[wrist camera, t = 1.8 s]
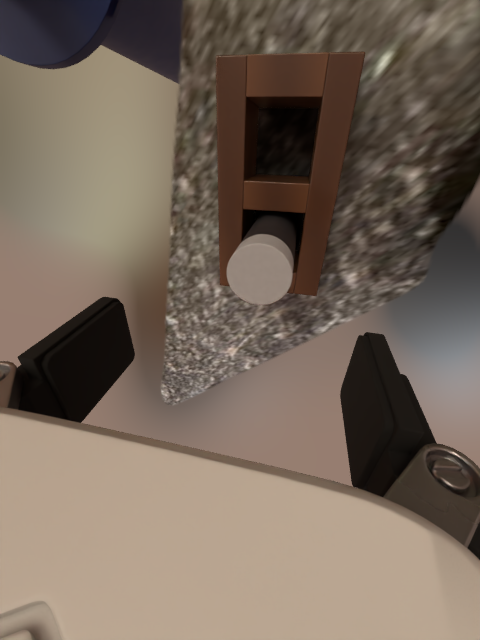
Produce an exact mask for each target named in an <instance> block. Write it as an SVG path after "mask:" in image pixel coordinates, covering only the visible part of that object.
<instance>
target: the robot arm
mask: <svg viewBox="0 0 480 640" xmlns="http://www.w3.org/2000/svg"><path fill="white" fill-rule="evenodd" d="M134 356H135V353H134V348H133V344H132V340H131V336H130V331H129V327H128V323H127V318H126V314H125V310H124V306H123V304H122V303H121V302H120V301H119V300H118V299H116V298H109V297H102V298H100V299H99V300H97V301H96V302H95V303H93V304H92V305H90V306H89V307H88V308H86V309H85V310H83V311H82V312H80V313H79V314H78V315H76V316H75V317H73V318H72V319H71V320H69V321H68V322H66V323H65V324H63V325H62V326H61V327H59V328H58V329H56V330H55V331H54V332H52V333H51V334H49V335H48V336H47V337H45V338H44V339H42V340H41V341H39V342H38V343H37V344H35V345H34V346H32V347H31V348H30V349H28V350H27V351H25V352H24V353H22V354H21V355H20V356H18V359H19V361H20V363H21V365H20V366H19V367H18V368H17V367H16V365H15V364H14V363H12V362H8V361H0V640H480V469H479V467H478V466H477V465H476V464H475V463H474V462H473V461H472V460H470V459H469V458H468V457H467V456H465V455H464V454H462V453H461V452H459V451H457V450H455V449H453V448H451V447H448V446H445V445H443V444H437V443H436V441H435V439H434V437H433V434H432V432H431V430H430V428H429V425H428V423H427V421H426V418H425V416H424V414H423V411H422V409H421V407H420V405H419V402H418V400H417V398H416V396H415V394H414V391H413V389H412V387H411V384H410V382H409V380H408V378H407V377H406V376H405V375H403V374H400V372H399V370H398V368H397V366H396V363H395V360H394V358H393V355H392V353H391V351H390V348H389V346H388V343H387V341H386V339H385V336H384V335H382V334H375V333H368V332H366V333H365V334H364V336H361V335H359V336H358V339H357V341H356V345H355V347H354V351H353V354H352V357H351V360H350V363H349V366H348V369H347V372H346V375H345V378H344V381H343V384H342V388H341V395H340V397H341V405H342V413H343V420H344V427H345V435H346V443H347V450H348V458H349V465H350V473H351V481H352V485H353V487H352V486H348V485H344V484H341V483H338V482H334V481H331V480H326V479H323V478H318V477H315V476H310V475H306V474H302V473H298V472H294V471H290V470H286V469H282V468H278V467H274V466H269V465H265V464H261V463H256V462H252V461H247V460H243V459H239V458H235V457H230V456H226V455H221V454H217V453H213V452H209V451H204V450H200V449H195V448H191V447H186V446H182V445H177V444H173V443H169V442H164V441H160V440H155V439H151V438H146V437H142V436H137V435H133V434H128V433H124V432H119V431H115V430H111V429H106V428H101V427H96V426H92V425H88V424H83V423H81V422H82V421H83V420H84V419H85V417H86V416H87V415H88V414H89V413H90V412H91V410H92V409H93V408H94V407H95V406H96V404H97V403H98V402H99V401H100V400H101V398H102V397H103V396H104V395H105V393H106V392H107V391H108V390H109V389H110V388H111V386H112V385H113V384H114V383H115V382H116V380H117V379H118V378H119V377H120V376H121V374H122V373H123V372H124V371H125V370H126V368H127V367H128V366H129V365H130V364H131V362H132V361H133V359H134ZM355 487H356V488H355Z"/></svg>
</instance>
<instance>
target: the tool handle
mask: <svg viewBox="0 0 480 640" xmlns="http://www.w3.org/2000/svg"><path fill="white" fill-rule="evenodd" d="M297 226H298V221H297V217H296V215H295V213H294V212H279V211H264V210H263V211H262V212H261V214H260V215H259V217H258V218H257V220H256V221H255V223H254V224H253V225H252V227H251V228H250V230H249V231H248V233H247V234H246V236H245V237H244V239H243V240H242V242H241V243H240V245H239V246H238V248H237V249H236V251H235V252H234V254H233V255H232V257H231V258H230V260H229V263H228V266H227V279H228V283H229V285H230V287H231V289H232V290H233V292H234V293H235V294H236V295H237V296H238V297H239V298H241V299H242V300H244V301H246V302H248V303H251V304H255V305H267V304H271V303H274V302H276V301H278V300H280V299H281V298H282V297H283V296H284V295H285V294H286V293H287V292H288V290H289V288H290V286H291V283H292V277H293V267H294V257H295V247H296V237H297Z"/></svg>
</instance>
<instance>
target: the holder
mask: <svg viewBox="0 0 480 640" xmlns="http://www.w3.org/2000/svg"><path fill="white" fill-rule="evenodd" d="M364 57H365V52H331V53H329V52H323V53H285V54H248V55H217V56H216V99H217V152H218V205H219V258H220V285H223V286H230V285H229V283H228V279H227V266H228V263H229V260H230V258H231V257H232V255H233V254H234V252H235V251H236V249H237V248H238V246H239V245H240V243H241V242H242V240H243V239H244V237H245V236H246V234H247V233H248V231H249V230H250V228H251V227H252V225H253V222H254V210H264V211H279V212H294V213H304V214H303V221H302V228H301V234H300V241H299V248H298V251H295V257H294V267H293V277H292V283H291V286H290V288H289V290H288V292H287V293H295V294H303V295H312V296H316V295H317V291H318V286H319V281H320V276H321V271H322V266H323V261H324V256H325V251H326V246H327V241H328V236H329V231H330V226H331V221H332V216H333V211H334V206H335V201H336V196H337V191H338V186H339V181H340V176H341V171H342V166H343V161H344V156H345V152H346V147H347V142H348V137H349V132H350V127H351V122H352V117H353V112H354V107H355V102H356V97H357V92H358V87H359V82H360V77H361V72H362V67H363V62H364ZM259 108H315V109H318V108H319V110H318V117H317V124H316V131H315V138H314V144H313V151H312V158H311V165H310V172H309V177H308V176H287V175H265V174H256V160H257V140H258V119H259Z"/></svg>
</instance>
